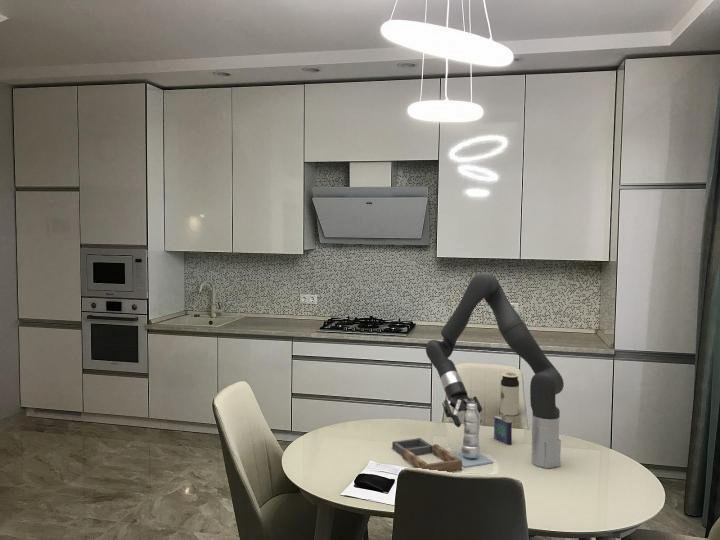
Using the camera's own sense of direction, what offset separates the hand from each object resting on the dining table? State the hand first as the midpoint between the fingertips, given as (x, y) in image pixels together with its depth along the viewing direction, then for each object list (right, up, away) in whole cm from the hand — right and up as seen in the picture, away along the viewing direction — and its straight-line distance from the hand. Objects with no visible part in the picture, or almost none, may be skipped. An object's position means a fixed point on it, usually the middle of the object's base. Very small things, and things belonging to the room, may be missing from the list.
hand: (469, 424), depth 220 cm
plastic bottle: (+1, -12, +1) cm, 12 cm away
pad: (0, -13, +1) cm, 13 cm away
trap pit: (-20, -12, +10) cm, 25 cm away
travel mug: (+28, -10, +58) cm, 65 cm away
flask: (+17, -12, +20) cm, 29 cm away
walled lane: (-14, -13, -4) cm, 20 cm away
